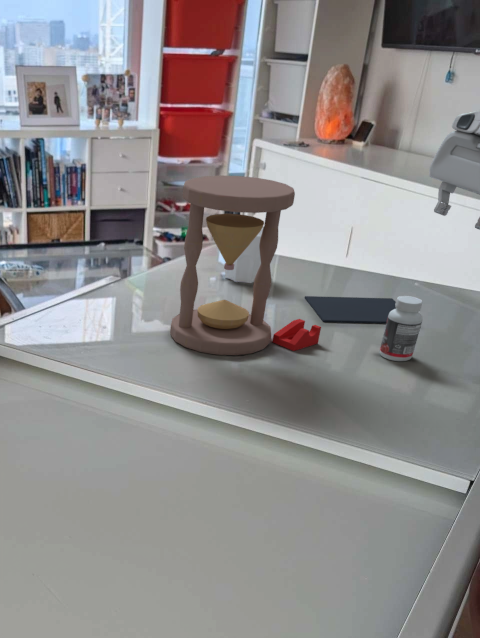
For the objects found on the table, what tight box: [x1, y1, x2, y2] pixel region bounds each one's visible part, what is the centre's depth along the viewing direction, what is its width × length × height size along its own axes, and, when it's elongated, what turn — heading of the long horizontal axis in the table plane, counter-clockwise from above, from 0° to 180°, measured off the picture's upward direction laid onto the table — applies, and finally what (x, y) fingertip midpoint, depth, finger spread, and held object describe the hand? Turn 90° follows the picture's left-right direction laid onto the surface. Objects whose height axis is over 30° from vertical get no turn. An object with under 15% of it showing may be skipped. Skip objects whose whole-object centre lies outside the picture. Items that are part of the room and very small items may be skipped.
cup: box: [224, 225, 264, 284], centre depth 161 cm, size 10×10×10 cm
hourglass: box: [169, 175, 296, 356], centre depth 127 cm, size 18×18×25 cm
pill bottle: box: [379, 295, 423, 362], centre depth 126 cm, size 5×5×10 cm
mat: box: [304, 295, 396, 325], centre depth 148 cm, size 18×14×1 cm
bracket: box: [272, 318, 322, 352], centre depth 132 cm, size 6×5×3 cm
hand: (459, 221), depth 123 cm, fingers open, 8 cm apart
